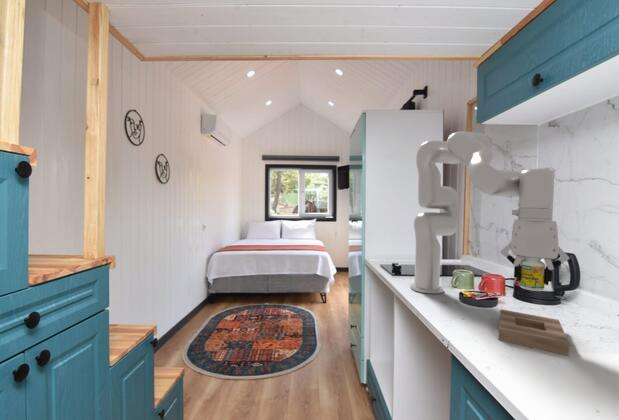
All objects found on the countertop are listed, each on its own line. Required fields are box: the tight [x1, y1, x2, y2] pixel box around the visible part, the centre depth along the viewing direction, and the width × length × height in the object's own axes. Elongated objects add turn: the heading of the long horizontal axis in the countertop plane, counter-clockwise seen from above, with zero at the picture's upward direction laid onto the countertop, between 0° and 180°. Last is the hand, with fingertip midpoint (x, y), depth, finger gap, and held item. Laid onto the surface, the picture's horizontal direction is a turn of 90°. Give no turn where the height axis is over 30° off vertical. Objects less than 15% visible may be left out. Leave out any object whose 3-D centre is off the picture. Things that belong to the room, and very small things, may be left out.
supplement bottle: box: [519, 257, 546, 292], centre depth 83 cm, size 5×5×10 cm
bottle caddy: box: [498, 309, 570, 356], centre depth 83 cm, size 18×14×3 cm
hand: (532, 281), depth 83 cm, fingers closed on supplement bottle, 5 cm apart
